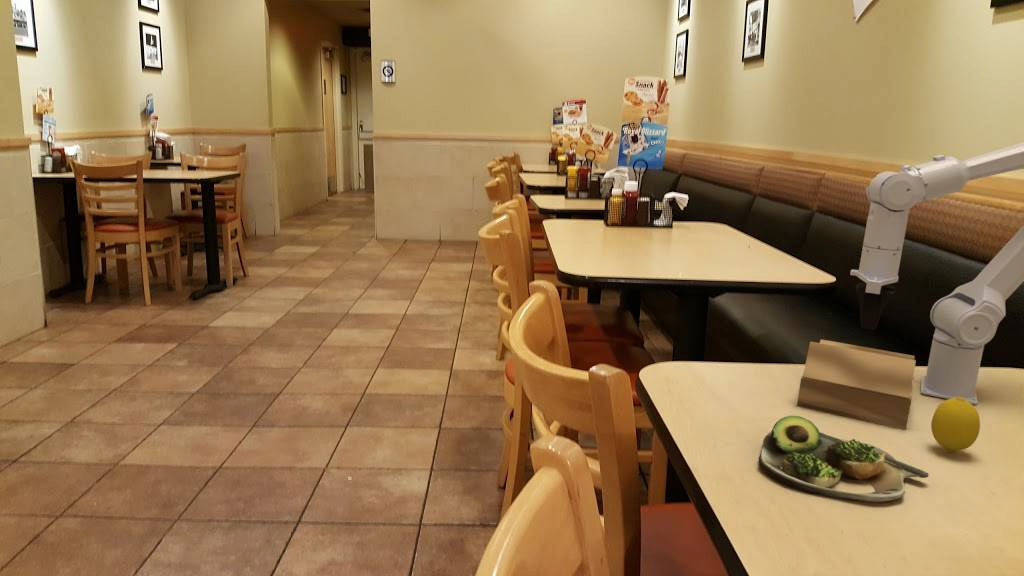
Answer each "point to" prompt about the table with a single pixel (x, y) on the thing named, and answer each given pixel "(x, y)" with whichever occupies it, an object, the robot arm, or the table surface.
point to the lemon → (955, 424)
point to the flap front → (860, 369)
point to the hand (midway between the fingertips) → (868, 328)
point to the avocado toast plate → (830, 462)
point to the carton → (854, 402)
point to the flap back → (867, 349)
